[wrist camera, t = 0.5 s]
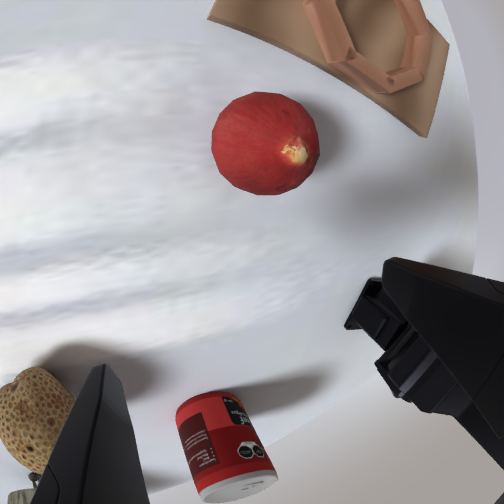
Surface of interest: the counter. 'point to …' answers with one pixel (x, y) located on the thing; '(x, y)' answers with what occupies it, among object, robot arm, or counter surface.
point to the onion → (265, 143)
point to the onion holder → (355, 46)
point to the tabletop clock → (23, 493)
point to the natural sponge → (33, 416)
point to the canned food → (223, 448)
